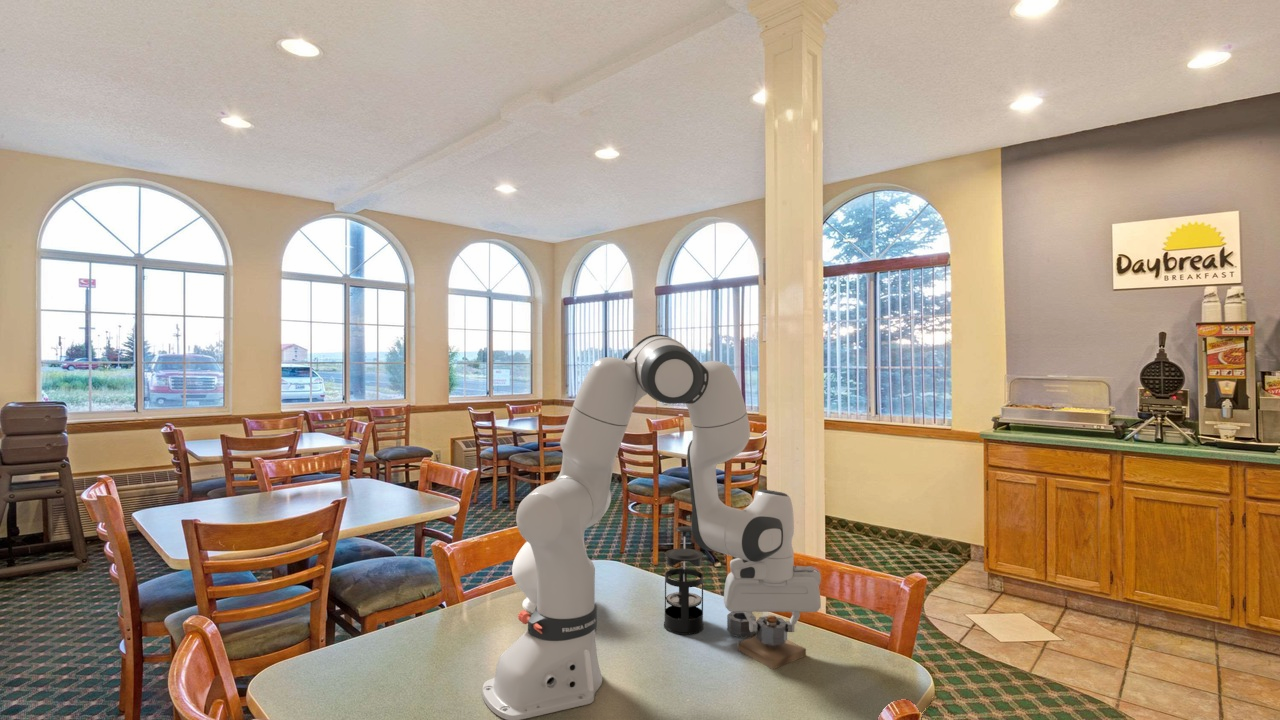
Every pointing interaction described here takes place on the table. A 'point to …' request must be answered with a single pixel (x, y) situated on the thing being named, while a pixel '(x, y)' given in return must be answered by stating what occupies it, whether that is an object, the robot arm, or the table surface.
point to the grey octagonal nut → (771, 631)
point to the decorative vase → (526, 576)
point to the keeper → (771, 650)
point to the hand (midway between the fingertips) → (771, 631)
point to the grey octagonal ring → (739, 624)
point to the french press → (683, 592)
